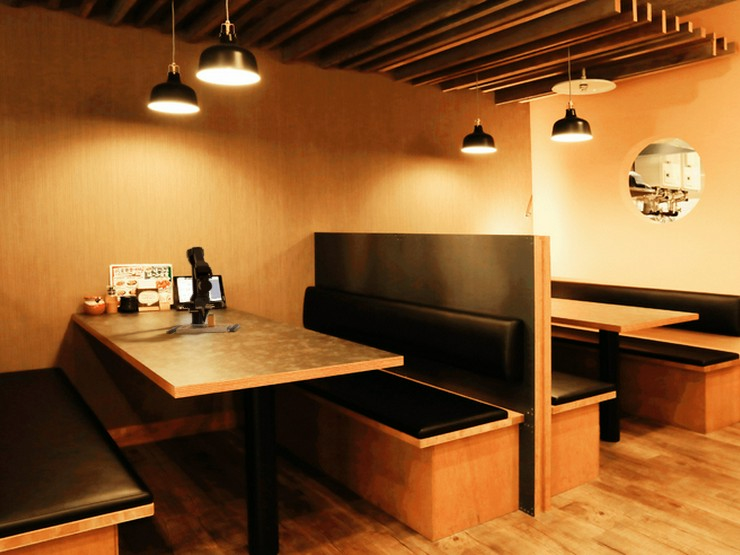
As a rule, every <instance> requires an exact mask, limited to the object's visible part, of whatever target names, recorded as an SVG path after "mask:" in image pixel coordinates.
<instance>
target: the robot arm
mask: <svg viewBox="0 0 740 555" xmlns="http://www.w3.org/2000/svg"><path fill="white" fill-rule="evenodd" d="M185 256H186V259H187V262H188V263H189V265H190V267H191V268H190V269H191V286H192V287H191V288H192V294H191V296H190V297H189V300H188V301H185V302H183V304H182V305H183V306H182V308H183V309H187V312H188V314H191V323H190V324H206V321H207V316H208V314H210V313H209V312H210V310H212V309H213V308H216V309H217V308H223V307H224V306H225V302H224V300H215V301H213V302H211V298H210V291H211V290H212V288H213V283H212V282H211V279H213V277H214V276H213V275H214V274H213V270H212V267H211V266H210V265H209V263H208V262H207V261H205V258H204V256H205V250H204V248H203V247H202V246H193V247H191V248H188V249H186V254H185Z"/></svg>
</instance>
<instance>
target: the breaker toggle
mask: <svg viewBox="0 0 740 555" xmlns="http://www.w3.org/2000/svg"><path fill="white" fill-rule="evenodd" d="M206 321H207V324H208V326H214V325H216V324H217V322H216V314H215V313H208V315H207V318H206Z"/></svg>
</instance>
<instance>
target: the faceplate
mask: <svg viewBox="0 0 740 555" xmlns="http://www.w3.org/2000/svg"><path fill="white" fill-rule="evenodd" d="M180 326H181V327H179V328H177V329H176V331H175V332H176V334H194V333H195V334H196V333H197V334H201V333H202V334H203V333H228V332H230V331H229V330H230V329H231V328H232V327H233V326H234V325H233V322H229V323H226V322H225V323H216V325H214V326H208V323H204V324H191V323H189V324H183V325H180Z"/></svg>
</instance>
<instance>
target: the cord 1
mask: <svg viewBox="0 0 740 555" xmlns="http://www.w3.org/2000/svg"><path fill="white" fill-rule="evenodd" d="M181 326H182V325H180V324H179V325H176V326H174V327H172V328H170V329H168V330H167V331H166V332H165V334H166V335H167V334H170V335H171V334H173V333H175V332H176V329H177V328H179V327H181Z"/></svg>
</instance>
